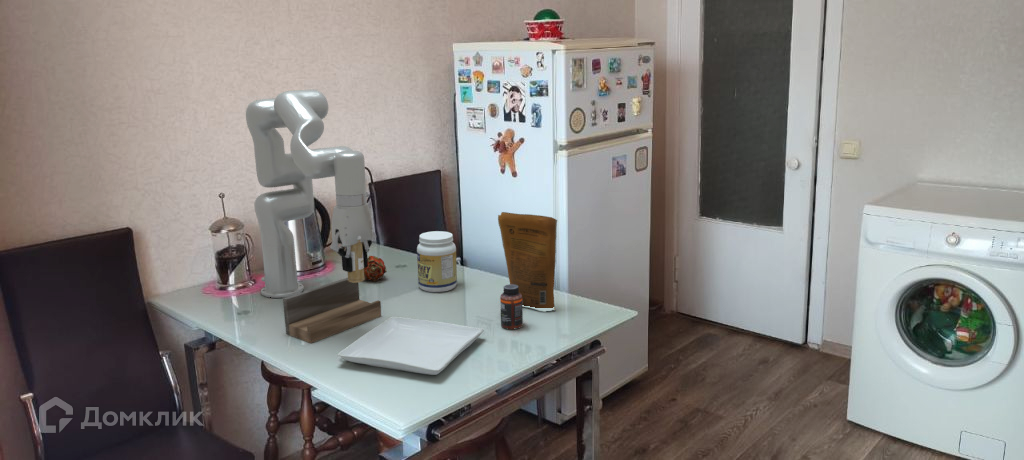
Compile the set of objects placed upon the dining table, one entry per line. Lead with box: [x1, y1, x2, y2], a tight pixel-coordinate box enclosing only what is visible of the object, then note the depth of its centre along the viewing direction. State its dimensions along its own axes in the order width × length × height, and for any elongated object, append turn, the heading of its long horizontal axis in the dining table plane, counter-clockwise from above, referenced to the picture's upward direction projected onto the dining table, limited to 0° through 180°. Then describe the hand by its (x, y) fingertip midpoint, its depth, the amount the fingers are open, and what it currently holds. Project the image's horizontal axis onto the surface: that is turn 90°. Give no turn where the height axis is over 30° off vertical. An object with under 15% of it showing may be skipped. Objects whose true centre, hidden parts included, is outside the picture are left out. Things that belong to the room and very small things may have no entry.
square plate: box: [337, 316, 485, 376], centre depth 181 cm, size 27×27×4 cm
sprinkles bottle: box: [347, 236, 366, 283], centre depth 189 cm, size 5×5×13 cm
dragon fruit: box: [364, 255, 388, 282], centre depth 238 cm, size 8×8×12 cm
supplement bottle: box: [499, 283, 524, 330], centre depth 196 cm, size 6×6×11 cm
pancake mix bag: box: [497, 211, 558, 308], centre depth 209 cm, size 7×19×28 cm, turn 51°
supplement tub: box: [416, 230, 458, 293], centre depth 228 cm, size 12×12×17 cm
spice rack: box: [282, 277, 382, 344], centre depth 199 cm, size 11×24×10 cm, turn 142°
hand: (355, 268), depth 190 cm, fingers closed on sprinkles bottle, 4 cm apart
